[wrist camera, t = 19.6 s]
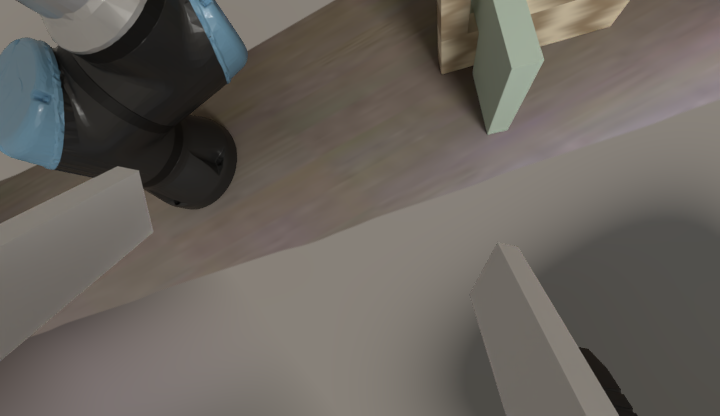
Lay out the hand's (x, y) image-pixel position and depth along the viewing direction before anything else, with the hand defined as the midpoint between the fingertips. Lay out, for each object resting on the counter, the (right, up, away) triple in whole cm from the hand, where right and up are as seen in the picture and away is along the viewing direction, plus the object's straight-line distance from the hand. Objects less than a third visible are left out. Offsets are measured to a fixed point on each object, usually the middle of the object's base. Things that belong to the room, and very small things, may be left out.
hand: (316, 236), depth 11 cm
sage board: (+18, +21, +28) cm, 39 cm away
